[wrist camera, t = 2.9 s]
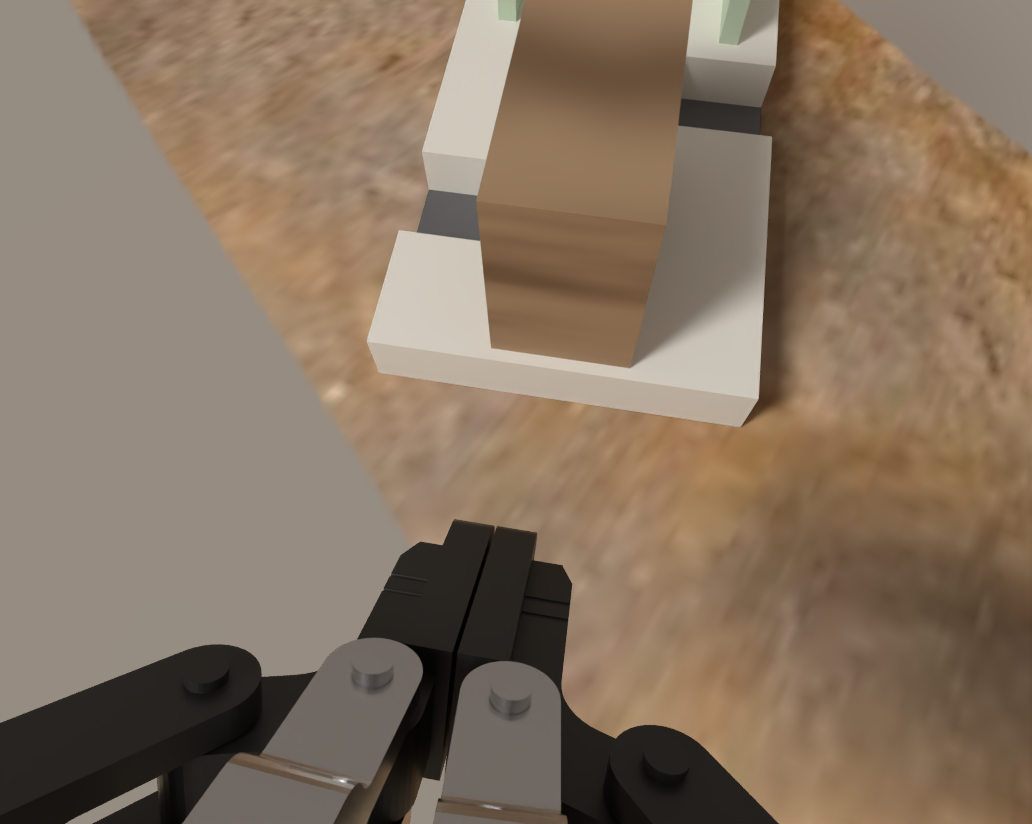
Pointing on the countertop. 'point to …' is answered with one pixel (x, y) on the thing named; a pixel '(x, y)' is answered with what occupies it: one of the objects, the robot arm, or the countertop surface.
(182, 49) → the countertop surface
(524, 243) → the walnut block
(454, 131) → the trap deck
